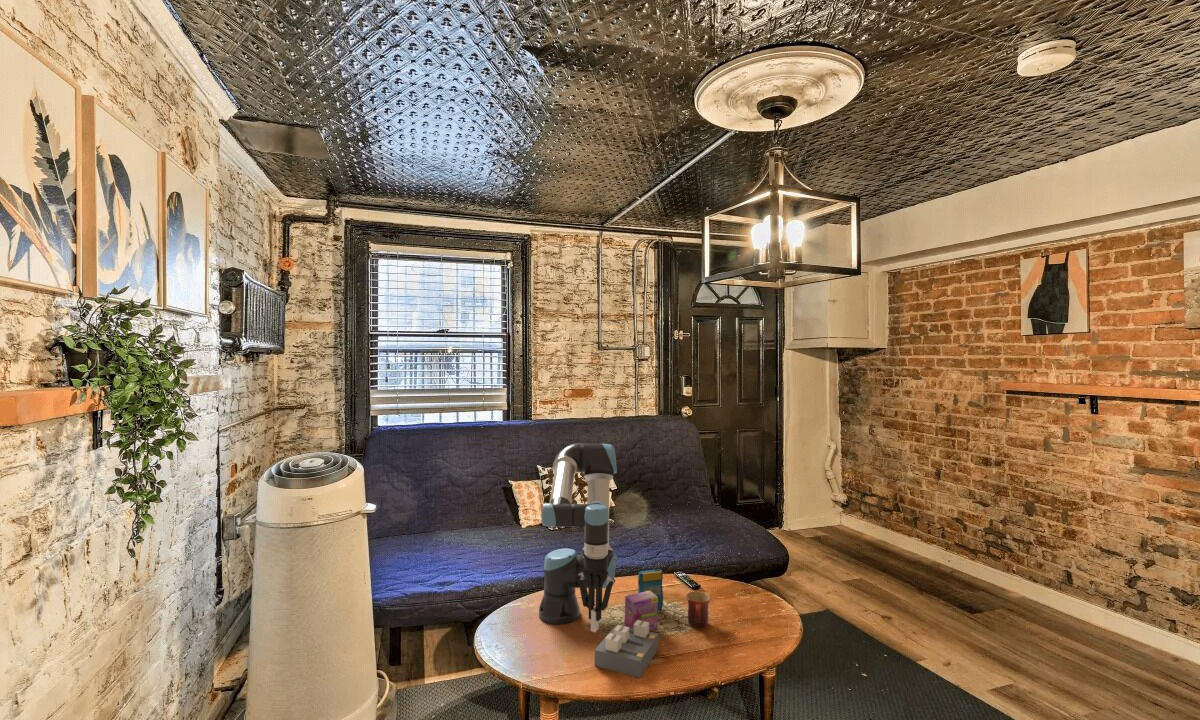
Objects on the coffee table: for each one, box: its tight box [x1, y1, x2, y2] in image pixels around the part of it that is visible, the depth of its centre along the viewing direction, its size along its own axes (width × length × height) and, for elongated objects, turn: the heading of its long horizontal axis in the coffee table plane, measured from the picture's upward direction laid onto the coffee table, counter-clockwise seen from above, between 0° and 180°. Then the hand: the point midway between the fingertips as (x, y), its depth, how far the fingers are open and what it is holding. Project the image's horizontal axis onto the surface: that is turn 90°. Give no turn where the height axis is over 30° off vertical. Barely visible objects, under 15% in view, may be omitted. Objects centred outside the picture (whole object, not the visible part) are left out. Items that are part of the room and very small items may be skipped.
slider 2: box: [614, 624, 629, 643], centre depth 177 cm, size 4×4×4 cm
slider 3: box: [634, 620, 650, 638], centre depth 181 cm, size 4×4×4 cm
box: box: [624, 590, 658, 632], centre depth 194 cm, size 10×6×12 cm, turn 117°
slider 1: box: [605, 633, 622, 652], centre depth 172 cm, size 4×4×4 cm
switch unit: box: [594, 624, 659, 679], centre depth 176 cm, size 15×18×5 cm
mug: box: [685, 590, 712, 630], centre depth 196 cm, size 12×9×10 cm
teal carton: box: [637, 568, 664, 613], centre depth 208 cm, size 10×4×15 cm, turn 108°
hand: (594, 629), depth 174 cm, fingers closed
